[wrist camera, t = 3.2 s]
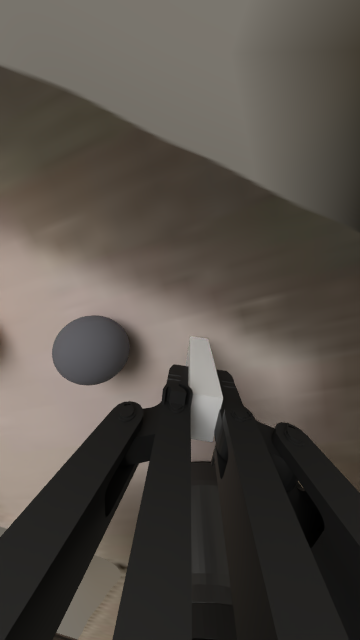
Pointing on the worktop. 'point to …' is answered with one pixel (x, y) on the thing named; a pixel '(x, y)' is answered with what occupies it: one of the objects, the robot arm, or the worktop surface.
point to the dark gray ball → (90, 350)
